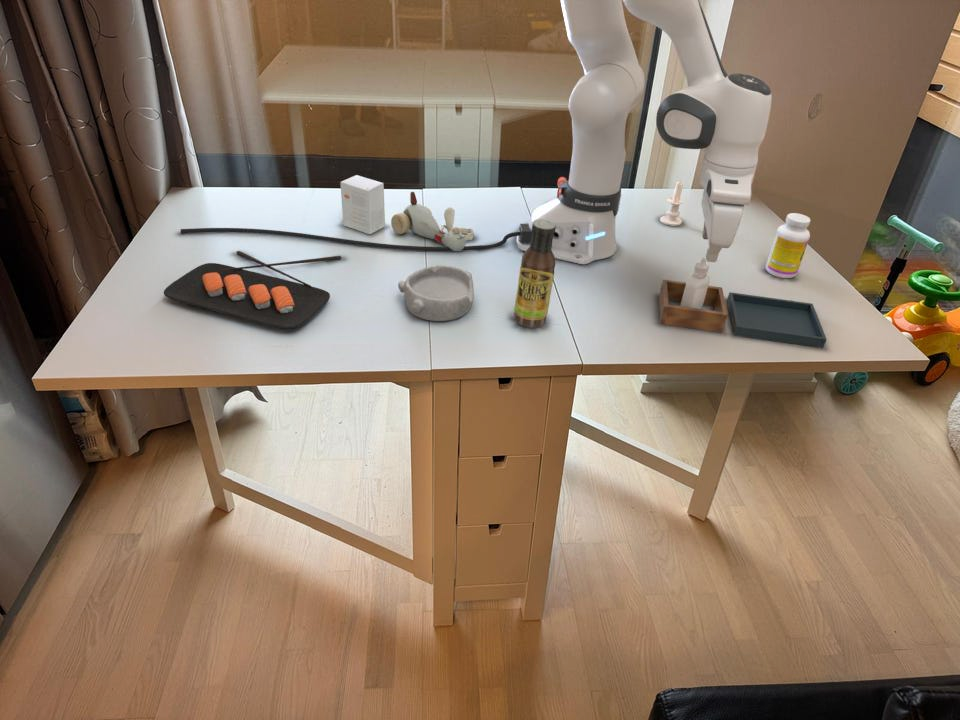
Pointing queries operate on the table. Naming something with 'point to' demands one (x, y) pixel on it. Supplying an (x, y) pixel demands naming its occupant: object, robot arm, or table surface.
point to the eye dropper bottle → (696, 287)
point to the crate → (692, 315)
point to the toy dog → (431, 225)
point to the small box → (363, 204)
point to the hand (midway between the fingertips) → (708, 248)
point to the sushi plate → (251, 293)
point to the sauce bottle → (536, 276)
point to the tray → (775, 320)
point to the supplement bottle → (789, 246)
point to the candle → (673, 208)
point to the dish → (438, 292)
